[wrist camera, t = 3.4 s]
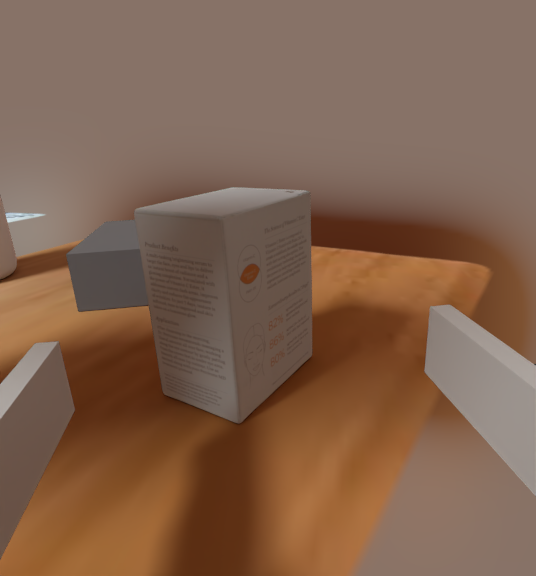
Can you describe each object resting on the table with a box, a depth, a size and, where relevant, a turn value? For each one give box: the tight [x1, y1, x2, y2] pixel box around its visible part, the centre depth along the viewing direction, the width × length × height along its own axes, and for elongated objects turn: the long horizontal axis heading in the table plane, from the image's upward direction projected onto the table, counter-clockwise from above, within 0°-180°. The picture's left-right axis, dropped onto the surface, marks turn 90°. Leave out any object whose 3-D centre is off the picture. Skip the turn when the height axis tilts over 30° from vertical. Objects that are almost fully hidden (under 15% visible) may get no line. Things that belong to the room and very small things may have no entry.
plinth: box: [66, 220, 149, 311], centre depth 43 cm, size 14×14×5 cm
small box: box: [134, 187, 312, 424], centre depth 24 cm, size 8×6×10 cm
